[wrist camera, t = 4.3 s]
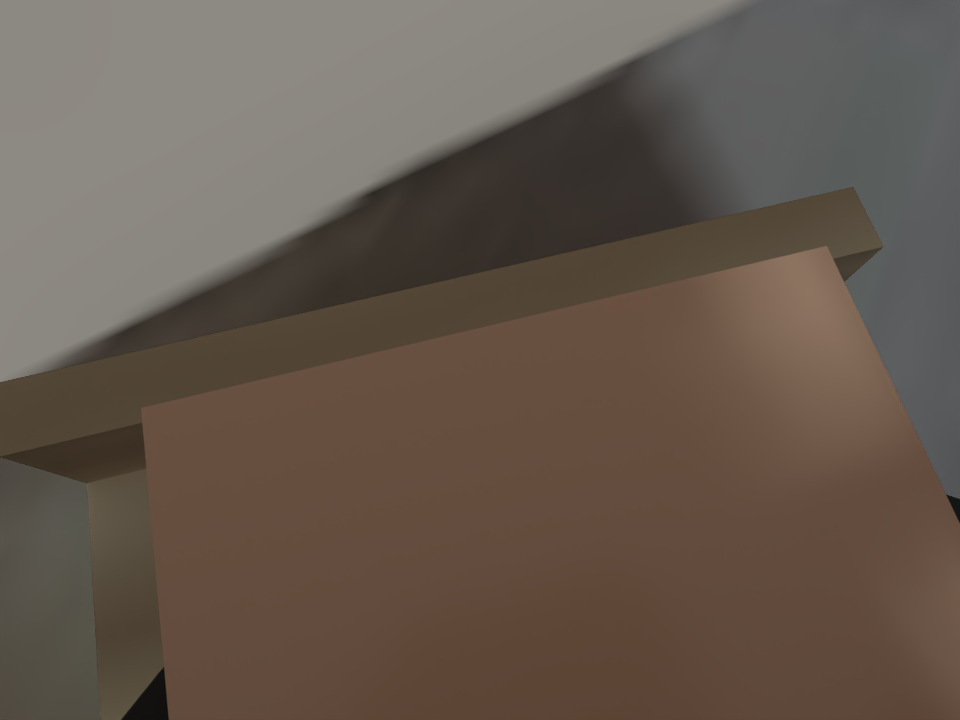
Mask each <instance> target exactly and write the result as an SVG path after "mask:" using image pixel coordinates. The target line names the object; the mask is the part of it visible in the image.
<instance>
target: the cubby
mask: <svg viewBox="0 0 960 720" xmlns="http://www.w3.org/2000/svg"><path fill="white" fill-rule="evenodd" d="M824 246H827V247H828V249H829V251H830V253H831V256H832V258H833V260H834V262H835V264H836V266H837V268H838V270H839V272H840V274H841V276H842V279H843V281H844V282H845V281H846V280H847V279H848V278H849V277H850V276H851V275H852V274H854V273H855V272H856V271H857V270H858V269H859V268H860V267H861V266H862V265H864V264H865V263H866V262H867V261H868V260H869V259H870V258H871V257H873V256H874V255H875V254H876V253H877V252H878V251H879V250H880V249H882V248H883V247H884V246H883V244H882V242H881V240H880V238H879V236H878V234H877V232H876V230H875V229H874V227H873V225H872V223H871V221H870V219H869V217H868V215H867V213H866V211H865V209H864V207H863V205H862V203H861V201H860V199H859V197H858V195H857V193H856V191H855V189H854V187H851V188H846V189H842V190H838V191H833V192H829V193H824V194H820V195H816V196H811V197H807V198H803V199H798V200H794V201H790V202H785V203H781V204H776V205H772V206H768V207H763V208H759V209H755V210H750V211H746V212H742V213H737V214H733V215H728V216H724V217H720V218H715V219H711V220H707V221H702V222H698V223H694V224H689V225H685V226H680V227H676V228H672V229H667V230H663V231H659V232H654V233H650V234H646V235H641V236H637V237H633V238H628V239H624V240H619V241H615V242H611V243H606V244H602V245H598V246H593V247H589V248H585V249H580V250H576V251H571V252H567V253H563V254H558V255H554V256H550V257H545V258H541V259H537V260H532V261H528V262H523V263H519V264H515V265H510V266H506V267H502V268H497V269H493V270H489V271H484V272H480V273H475V274H471V275H467V276H462V277H458V278H454V279H449V280H445V281H441V282H436V283H432V284H427V285H423V286H419V287H414V288H410V289H406V290H401V291H397V292H393V293H388V294H384V295H379V296H375V297H371V298H366V299H362V300H358V301H353V302H349V303H345V304H340V305H336V306H331V307H327V308H323V309H318V310H314V311H310V312H305V313H301V314H297V315H292V316H288V317H283V318H279V319H275V320H270V321H266V322H262V323H257V324H253V325H249V326H244V327H240V328H235V329H231V330H227V331H222V332H218V333H214V334H209V335H205V336H201V337H196V338H192V339H187V340H183V341H179V342H174V343H170V344H166V345H161V346H157V347H153V348H148V349H144V350H139V351H135V352H131V353H126V354H122V355H118V356H113V357H109V358H105V359H100V360H96V361H91V362H87V363H83V364H78V365H74V366H70V367H65V368H61V369H57V370H52V371H48V372H43V373H39V374H35V375H30V376H26V377H22V378H17V379H13V380H9V381H4V382H0V457H2V458H5V459H9V460H12V461H15V462H19V463H22V464H25V465H29V466H32V467H35V468H38V469H42V470H45V471H48V472H52V473H55V474H58V475H62V476H65V477H68V478H71V479H75V480H78V481H81V482H85V483H87V498H88V515H89V532H90V549H91V566H92V583H93V600H94V616H95V633H96V650H97V667H98V684H99V701H100V718H101V720H121V719H122V718H123V716H124V715H125V714H126V713H127V712H128V710H129V709H130V708H131V707H132V705H133V704H134V703H135V702H136V700H137V699H138V698H139V697H140V695H141V694H142V693H143V692H144V690H145V689H146V688H147V687H148V685H149V684H150V683H151V682H152V680H153V679H154V678H155V677H156V675H157V674H158V673H159V672H160V670H161V669H162V668H163V667H164V660H163V649H162V638H161V626H160V615H159V604H158V593H157V582H156V570H155V559H154V548H153V537H152V526H151V514H150V503H149V492H148V481H147V470H146V458H145V447H144V436H143V425H142V413H141V408H143V407H147V406H151V405H156V404H160V403H164V402H168V401H172V400H177V399H181V398H185V397H189V396H194V395H198V394H202V393H206V392H211V391H215V390H219V389H223V388H228V387H232V386H236V385H240V384H244V383H249V382H253V381H257V380H261V379H266V378H270V377H274V376H278V375H283V374H287V373H291V372H295V371H299V370H304V369H308V368H312V367H316V366H321V365H325V364H329V363H333V362H338V361H342V360H346V359H350V358H355V357H359V356H363V355H367V354H371V353H376V352H380V351H384V350H388V349H393V348H397V347H401V346H405V345H410V344H414V343H418V342H422V341H426V340H431V339H435V338H439V337H443V336H448V335H452V334H456V333H460V332H465V331H469V330H473V329H477V328H482V327H486V326H490V325H494V324H498V323H503V322H507V321H511V320H515V319H520V318H524V317H528V316H532V315H537V314H541V313H545V312H549V311H553V310H558V309H562V308H566V307H570V306H575V305H579V304H583V303H587V302H592V301H596V300H600V299H604V298H609V297H613V296H617V295H621V294H625V293H630V292H634V291H638V290H642V289H647V288H651V287H655V286H659V285H664V284H668V283H672V282H676V281H681V280H685V279H689V278H693V277H697V276H702V275H706V274H710V273H714V272H719V271H723V270H727V269H731V268H736V267H740V266H744V265H748V264H752V263H757V262H761V261H765V260H769V259H774V258H778V257H782V256H786V255H791V254H795V253H799V252H803V251H808V250H812V249H816V248H820V247H824Z"/></svg>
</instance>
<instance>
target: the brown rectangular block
mask: <svg viewBox="0 0 960 720" xmlns="http://www.w3.org/2000/svg"><path fill="white" fill-rule="evenodd" d="M141 413H142V425H143V436H144V447H145V458H146V470H147V481H148V492H149V503H150V514H151V526H152V537H153V548H154V559H155V570H156V582H157V593H158V604H159V615H160V626H161V638H162V649H163V660H164V671H165V682H166V694H167V705H168V716H169V720H960V523H959V521H958V519H957V517H956V514H955V512H954V510H953V508H952V506H951V504H950V502H949V500H948V498H947V496H946V494H945V492H944V489H943V487H942V485H941V483H940V481H939V479H938V477H937V475H936V473H935V471H934V469H933V466H932V464H931V462H930V460H929V458H928V456H927V454H926V452H925V450H924V448H923V446H922V443H921V441H920V439H919V437H918V435H917V433H916V431H915V429H914V427H913V425H912V423H911V421H910V418H909V416H908V414H907V412H906V410H905V408H904V406H903V404H902V402H901V400H900V398H899V395H898V393H897V391H896V389H895V387H894V385H893V383H892V381H891V379H890V377H889V375H888V372H887V370H886V368H885V366H884V364H883V362H882V360H881V358H880V356H879V354H878V352H877V350H876V347H875V345H874V343H873V341H872V339H871V337H870V335H869V333H868V331H867V329H866V327H865V324H864V322H863V320H862V318H861V316H860V314H859V312H858V310H857V308H856V306H855V304H854V301H853V299H852V297H851V295H850V293H849V291H848V289H847V287H846V285H845V283H844V281H843V279H842V276H841V274H840V272H839V270H838V268H837V266H836V264H835V262H834V260H833V258H832V256H831V253H830V251H829V249H828V247H827V246H824V247H820V248H816V249H812V250H808V251H803V252H799V253H795V254H791V255H786V256H782V257H778V258H774V259H769V260H765V261H761V262H757V263H752V264H748V265H744V266H740V267H736V268H731V269H727V270H723V271H719V272H714V273H710V274H706V275H702V276H697V277H693V278H689V279H685V280H681V281H676V282H672V283H668V284H664V285H659V286H655V287H651V288H647V289H642V290H638V291H634V292H630V293H625V294H621V295H617V296H613V297H609V298H604V299H600V300H596V301H592V302H587V303H583V304H579V305H575V306H570V307H566V308H562V309H558V310H553V311H549V312H545V313H541V314H537V315H532V316H528V317H524V318H520V319H515V320H511V321H507V322H503V323H498V324H494V325H490V326H486V327H482V328H477V329H473V330H469V331H465V332H460V333H456V334H452V335H448V336H443V337H439V338H435V339H431V340H426V341H422V342H418V343H414V344H410V345H405V346H401V347H397V348H393V349H388V350H384V351H380V352H376V353H371V354H367V355H363V356H359V357H355V358H350V359H346V360H342V361H338V362H333V363H329V364H325V365H321V366H316V367H312V368H308V369H304V370H299V371H295V372H291V373H287V374H283V375H278V376H274V377H270V378H266V379H261V380H257V381H253V382H249V383H244V384H240V385H236V386H232V387H228V388H223V389H219V390H215V391H211V392H206V393H202V394H198V395H194V396H189V397H185V398H181V399H177V400H172V401H168V402H164V403H160V404H156V405H151V406H147V407H143V408H141Z"/></svg>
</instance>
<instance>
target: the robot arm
mask: <svg viewBox="0 0 960 720" xmlns="http://www.w3.org/2000/svg"><path fill="white" fill-rule="evenodd" d="M946 496H947V498H948V500H949V502H950V504H951V506H952V508H953V510H954V512H955V514H956V517H957V519H958V521H959V523H960V499H958V498H955V497H952V496H949V495H946ZM121 720H169V716H168V705H167V694H166V682H165V671H164V667H163V668H162V669H161V670H160V672H159V673H158V674H157V675H156V677H155V678H154V679H153V680H152V682H151V683H150V684H149V685H148V687H147V688H146V689H145V690H144V692H143V693H142V694H141V695H140V697H139V698H138V699H137V700H136V702H135V703H134V704H133V705H132V707H131V708H130V709H129V710H128V712H127V713H126V714H125V715H124V716H123V718H122V719H121Z"/></svg>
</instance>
